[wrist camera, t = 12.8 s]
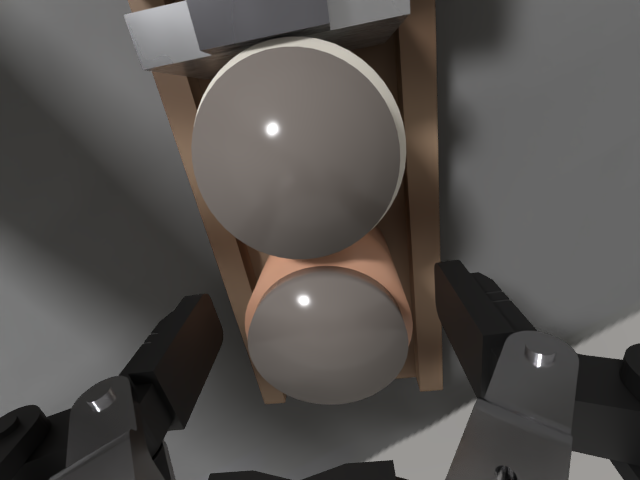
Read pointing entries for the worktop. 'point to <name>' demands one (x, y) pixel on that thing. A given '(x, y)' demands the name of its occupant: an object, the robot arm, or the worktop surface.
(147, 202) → the worktop surface
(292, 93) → the cream jar
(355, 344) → the terracotta jar
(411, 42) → the lane
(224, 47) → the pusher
